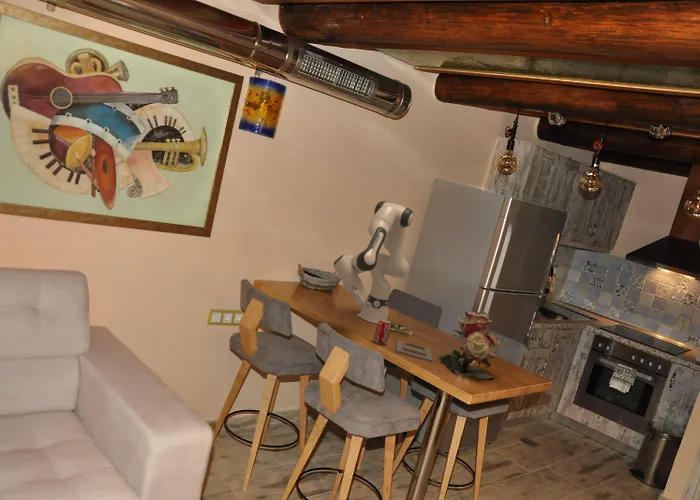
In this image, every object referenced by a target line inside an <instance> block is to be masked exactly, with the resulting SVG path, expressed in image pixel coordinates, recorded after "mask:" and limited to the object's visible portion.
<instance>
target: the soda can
mask: <svg viewBox="0 0 700 500" xmlns="http://www.w3.org/2000/svg"><path fill="white" fill-rule="evenodd" d="M391 323H392V322H391V321H390V320H389V319H387V320H385V319H380V321H379V322H378V324H377V325H376V328H375V331H374V336H373V342H374V343H375V344H377V343H378V344H377V345H380V344H382V345H381V346H384V345H386V344H387V343H388V339H389V336H390V333H391V330H392V329H391V328H392V324H391Z"/></svg>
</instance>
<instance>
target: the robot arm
mask: <svg viewBox="0 0 700 500" xmlns="http://www.w3.org/2000/svg"><path fill="white" fill-rule="evenodd" d="M373 211H374V213H373V214H374V216H373V217H372V218H371V220H370V223H369V225H368V227H367V231H368V233H369V235H370V236H371V239H370V240H369V243H368V244H367V247H366V248H365V249H364V250H363V251H362V252H359V253H357V254H354V255H345V254H343V255H340V256H338V258H337V259H336V260H334V262H333V268H334V270H335V271H334V272H335V273H336V275H337V276H338V278H339V280H341V281H342V285H343V287H344V289H345V290H346V292H347V293H348V294H349V293H350V294H351V296H352V298H353V300H354V302H355V304H356V306H358V307H361V308H362V309H361V312H358V313H357V317H358V318H361V319H363V321H366V322H369V323H372V324H378V322H379V321H380V319H385V320H388V313H389V309H388V307H387V306H388V304H389V298H390V293H391V289H392V286H391V284H390V282H389V281H387V280H386V278H385V275H387V276H390V277H393V278H399V279H404V278H405V277H407V276H408V274H409V273H410V264H409V261H407V260H406V257H404V254H403V253H404V252H403V244H404V240H405V239H404V238H405V234H406V230H407V227H409V226H411V225H412V222H413V220H414V216H415V215H414V214H415V213H414V212H413V210H412V209H411V208H409V207H405V206H403V205H401V204H397V203H393V202H388V201H383V200H381V201H379V202H378V203H377V204H376V206H375V208H374V210H373ZM382 246H383V247H384V248H385V249H386V251H388V253H389V254H384V253H382V252H380V250H381V248H382ZM365 272H369V273H370V274H371V279H372V281H371V287H370V291H369V294H368V293H367V291H366V289H365V288H364V284H363V280H361V278H360V276H359V274H362V273H365Z"/></svg>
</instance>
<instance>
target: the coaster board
mask: <svg viewBox="0 0 700 500" xmlns="http://www.w3.org/2000/svg"><path fill="white" fill-rule="evenodd" d="M395 350H396V351H395V352H396V353H397V352H398V354H400V355H404V356H407V357H412V358H415V359H419V360H422V361H426V362H430V363H432V362H433V357H432V349H431V348H427V347H426V346H421V345H418V344H414V343H412V342H408V341H403V340H397V343H396V349H395Z"/></svg>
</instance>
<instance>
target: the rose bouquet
mask: <svg viewBox="0 0 700 500" xmlns="http://www.w3.org/2000/svg"><path fill="white" fill-rule="evenodd" d="M464 315H465V317H464V318H461V317H457V322H458V324H459V327H460V328H459V329H460V330H456V329H452V332H455V333H457V334H459V335H462V336H460V337H462V338H466V340H465V341H464V342H463V345H462V346H463V347H462V346H461V347H459V346H457V345H456V347H458V348H459V350H461V351H462V354H461V351H459V350H457V349H456V348H452V350H451V351H452V352H451V353H450V352H449V353H448V352H447V353H442V354H440V355H439V356H438V357H437V358H436V359H437V360H438V361H439V362H440V363H442V365H444V366H445V367H447V368H448V369H449V370H450V371H451V372H453V373H455V374H456V375H457V376H460V377H461V376H462V377H465V378H467V377H473V378H474V379H479V380H487V379H495V378H494V376H492V375H490V374H488V373H487V372H485V371H484V370H482V369H480V366H481V364H483V365H484V366H485V369H486V370H489V368H490V367H491V366H492V364H491V363H490V361H491V360H493V359H494V358H495V359H497V358H498V357H497V355H498V353H497V352H499V349H501V347H500V345H502V343H501V341H500V340H499V339H498V338H497V337H495V335H494V334H493V333H490V332H489V330H490V327H489V324H491V323H492V321H493V320H491V319H490V315H489V313H487V312H478V311H473V312H467V311H464ZM439 332H441V330H440V331H439ZM457 334H452V335H453V336H454V337H456V338H457V337H458V335H457ZM489 360H490V361H489ZM473 361H476V362H477V363H478V366H472V365H471V364H472V363H473Z"/></svg>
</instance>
